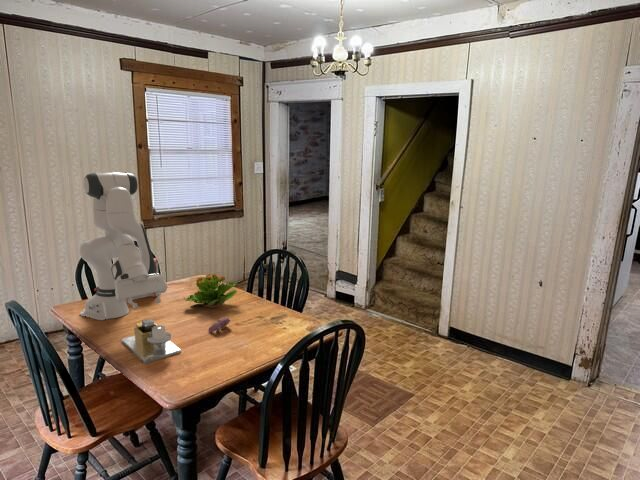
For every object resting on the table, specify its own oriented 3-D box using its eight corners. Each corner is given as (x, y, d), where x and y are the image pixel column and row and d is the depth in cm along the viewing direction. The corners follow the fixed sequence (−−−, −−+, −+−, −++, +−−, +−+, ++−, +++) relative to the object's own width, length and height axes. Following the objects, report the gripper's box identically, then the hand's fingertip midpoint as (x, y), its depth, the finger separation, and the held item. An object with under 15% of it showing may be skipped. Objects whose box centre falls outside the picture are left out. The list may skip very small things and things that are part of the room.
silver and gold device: (121, 341, 184) (119, 315, 182) (156, 331, 194) (154, 307, 192) (145, 365, 165) (143, 336, 163) (182, 353, 175) (181, 326, 173)
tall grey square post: (143, 342, 181) (141, 320, 179) (151, 340, 183) (150, 318, 181) (146, 345, 179) (145, 323, 176) (155, 343, 181) (153, 321, 179)
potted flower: (206, 294, 244) (205, 264, 240) (244, 299, 237) (244, 268, 234) (181, 309, 220) (180, 277, 216) (223, 316, 214) (222, 282, 210)
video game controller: (213, 337, 194) (218, 325, 192) (206, 330, 196) (211, 319, 193) (228, 329, 203) (233, 318, 200) (221, 323, 204) (226, 312, 201)
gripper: (159, 275, 191) (169, 303, 186) (110, 285, 177) (120, 314, 172) (163, 268, 186) (173, 296, 182) (113, 277, 173) (123, 307, 168)
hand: (147, 305), depth 177 cm, fingers open, 8 cm apart
